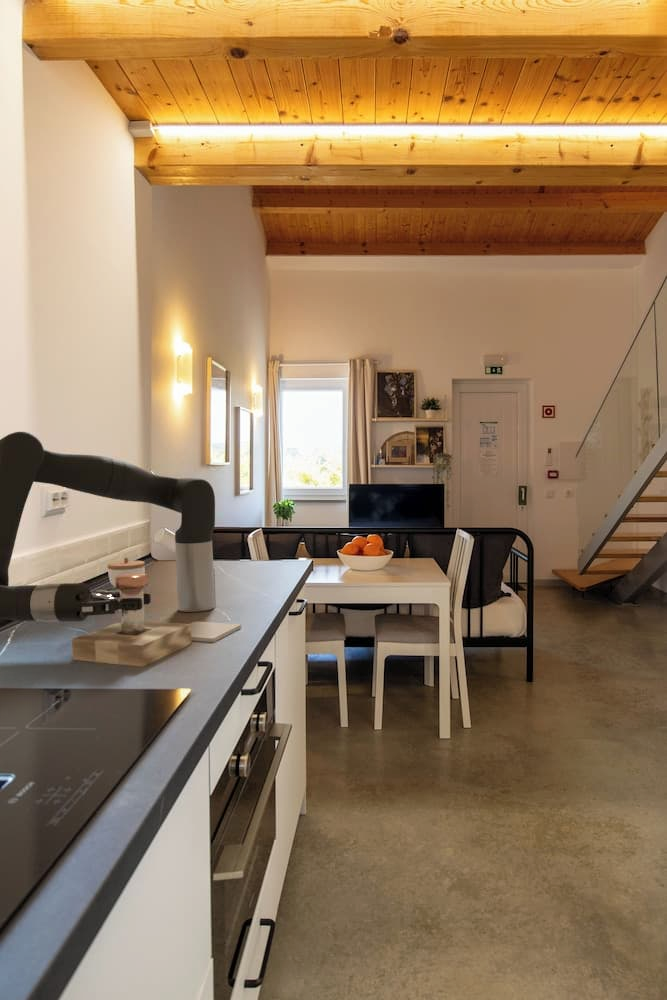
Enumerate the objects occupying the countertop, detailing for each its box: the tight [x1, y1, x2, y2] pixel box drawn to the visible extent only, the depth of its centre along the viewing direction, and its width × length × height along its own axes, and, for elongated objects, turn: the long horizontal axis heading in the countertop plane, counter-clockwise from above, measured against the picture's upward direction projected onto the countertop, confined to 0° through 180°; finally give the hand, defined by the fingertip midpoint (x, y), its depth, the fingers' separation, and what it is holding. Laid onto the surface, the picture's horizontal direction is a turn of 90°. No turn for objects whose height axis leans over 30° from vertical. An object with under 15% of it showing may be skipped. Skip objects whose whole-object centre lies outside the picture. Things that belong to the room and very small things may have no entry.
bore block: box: [71, 620, 192, 668], centre depth 130 cm, size 16×16×4 cm
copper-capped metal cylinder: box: [115, 573, 148, 636], centre depth 130 cm, size 6×6×15 cm
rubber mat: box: [189, 620, 242, 643], centre depth 143 cm, size 12×12×1 cm
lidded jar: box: [107, 557, 146, 590], centre depth 198 cm, size 11×11×9 cm
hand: (145, 601), depth 130 cm, fingers closed on copper-capped metal cylinder, 4 cm apart
